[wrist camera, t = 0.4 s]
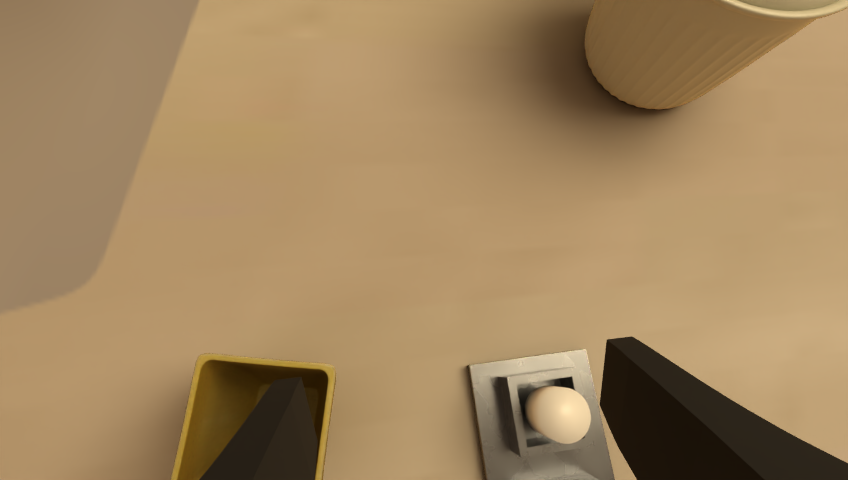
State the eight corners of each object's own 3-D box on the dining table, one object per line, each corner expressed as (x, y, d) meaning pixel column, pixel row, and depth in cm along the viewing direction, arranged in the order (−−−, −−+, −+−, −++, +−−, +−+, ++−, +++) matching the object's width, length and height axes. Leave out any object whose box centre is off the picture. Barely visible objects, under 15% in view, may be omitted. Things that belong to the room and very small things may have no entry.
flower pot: (349, 365, 37) (336, 364, 29) (335, 481, 35) (316, 518, 26) (243, 355, 37) (197, 352, 28) (220, 472, 35) (163, 507, 26)
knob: (576, 432, 34) (596, 439, 30) (529, 439, 33) (544, 447, 30) (565, 382, 35) (584, 383, 31) (520, 389, 34) (534, 391, 31)
